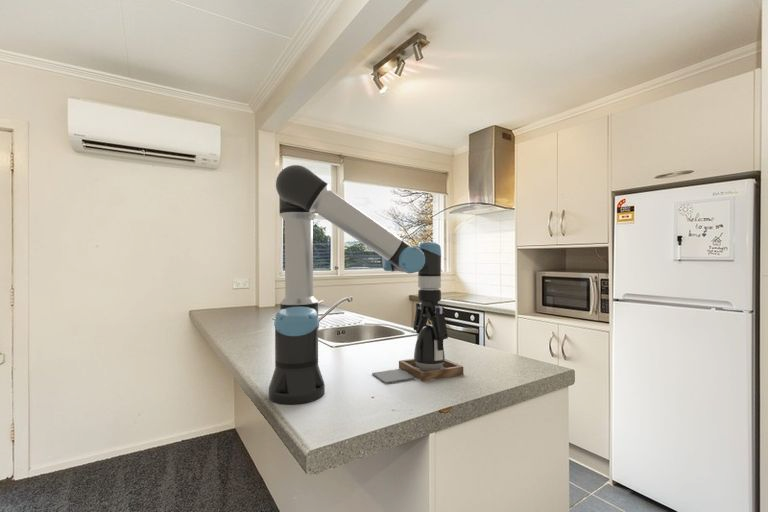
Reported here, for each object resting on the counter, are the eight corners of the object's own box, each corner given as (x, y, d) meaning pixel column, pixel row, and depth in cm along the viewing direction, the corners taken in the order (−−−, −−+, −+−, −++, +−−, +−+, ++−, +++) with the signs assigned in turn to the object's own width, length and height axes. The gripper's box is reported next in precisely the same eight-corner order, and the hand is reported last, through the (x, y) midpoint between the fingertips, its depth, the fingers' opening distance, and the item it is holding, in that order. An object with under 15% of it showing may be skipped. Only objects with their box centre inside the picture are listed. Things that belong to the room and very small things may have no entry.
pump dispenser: (447, 375, 118) (447, 327, 118) (414, 375, 118) (414, 327, 119) (443, 366, 128) (443, 321, 129) (413, 365, 129) (413, 321, 129)
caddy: (422, 381, 113) (422, 373, 113) (398, 368, 127) (398, 360, 127) (463, 374, 120) (463, 366, 120) (436, 362, 134) (436, 355, 134)
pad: (385, 384, 111) (385, 382, 111) (372, 374, 120) (372, 372, 120) (414, 379, 115) (414, 377, 115) (399, 370, 124) (399, 368, 124)
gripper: (459, 291, 115) (459, 363, 115) (421, 286, 135) (421, 347, 135) (439, 292, 112) (439, 366, 112) (403, 286, 132) (403, 349, 132)
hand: (429, 356), depth 123 cm, fingers closed on pump dispenser, 10 cm apart
